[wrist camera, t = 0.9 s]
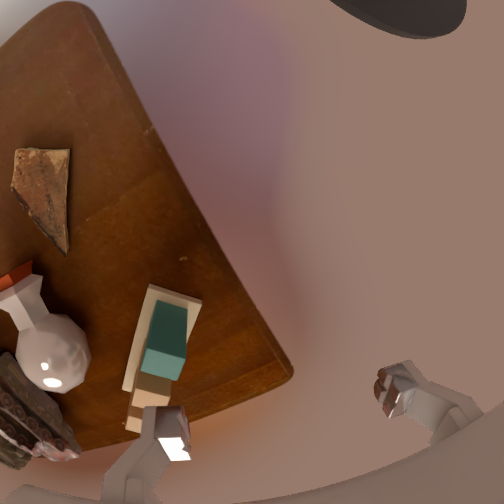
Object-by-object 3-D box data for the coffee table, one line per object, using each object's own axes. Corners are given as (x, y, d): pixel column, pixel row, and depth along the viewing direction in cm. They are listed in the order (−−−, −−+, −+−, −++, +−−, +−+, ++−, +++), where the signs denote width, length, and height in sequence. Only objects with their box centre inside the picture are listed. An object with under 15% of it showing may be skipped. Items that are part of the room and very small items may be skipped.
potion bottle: (84, 356, 35) (32, 257, 30) (119, 370, 29) (54, 248, 25) (37, 395, 27) (-24, 291, 23) (63, 421, 22) (-20, 291, 18)
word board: (149, 283, 31) (134, 334, 22) (202, 300, 32) (203, 354, 24) (122, 384, 36) (112, 436, 27) (164, 396, 37) (161, 448, 29)
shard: (71, 252, 28) (65, 258, 26) (17, 243, 26) (9, 249, 25) (75, 148, 24) (68, 150, 23) (17, 147, 23) (8, 148, 21)
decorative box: (26, 336, 31) (-3, 384, 22) (105, 426, 39) (97, 473, 30) (-17, 352, 30) (-43, 391, 22) (55, 431, 39) (43, 471, 30)
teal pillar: (156, 299, 30) (146, 347, 23) (188, 309, 31) (186, 359, 24) (150, 320, 31) (139, 371, 24) (180, 330, 32) (177, 381, 25)
